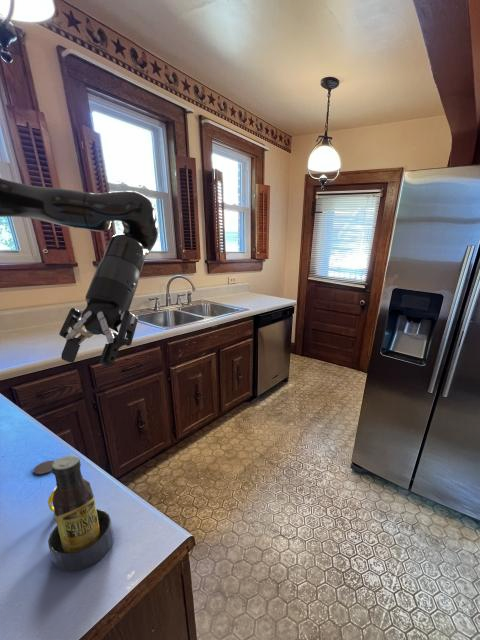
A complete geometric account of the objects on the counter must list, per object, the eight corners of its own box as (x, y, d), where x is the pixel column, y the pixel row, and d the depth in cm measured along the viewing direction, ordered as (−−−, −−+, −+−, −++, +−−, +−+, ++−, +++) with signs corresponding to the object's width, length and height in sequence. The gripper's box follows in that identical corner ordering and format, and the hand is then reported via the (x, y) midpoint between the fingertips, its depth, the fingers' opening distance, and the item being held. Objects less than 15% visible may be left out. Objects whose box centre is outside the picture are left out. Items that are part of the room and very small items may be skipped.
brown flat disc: (28, 472, 78) (28, 471, 78) (47, 460, 82) (46, 459, 82) (44, 476, 77) (44, 475, 77) (62, 464, 81) (62, 463, 81)
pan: (40, 562, 57) (34, 545, 55) (84, 520, 66) (80, 504, 64) (85, 578, 55) (80, 561, 53) (125, 532, 64) (121, 516, 62)
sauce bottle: (74, 568, 56) (48, 482, 49) (58, 548, 59) (32, 465, 52) (110, 542, 61) (91, 461, 54) (93, 526, 64) (74, 447, 57)
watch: (81, 497, 72) (75, 476, 69) (85, 503, 70) (80, 483, 68) (50, 511, 67) (43, 490, 65) (54, 519, 66) (47, 498, 63)
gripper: (69, 274, 59) (36, 352, 55) (132, 275, 56) (102, 359, 51) (98, 295, 66) (71, 366, 62) (156, 297, 63) (132, 373, 58)
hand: (85, 363), depth 56 cm, fingers open, 8 cm apart
